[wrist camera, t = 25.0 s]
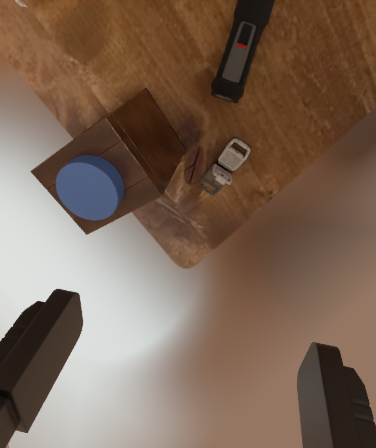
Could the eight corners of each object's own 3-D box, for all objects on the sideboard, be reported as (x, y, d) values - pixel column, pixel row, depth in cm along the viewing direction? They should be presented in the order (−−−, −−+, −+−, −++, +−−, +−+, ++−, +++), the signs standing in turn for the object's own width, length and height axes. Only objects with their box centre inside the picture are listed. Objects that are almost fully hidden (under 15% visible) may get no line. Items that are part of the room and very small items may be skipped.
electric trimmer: (298, -60, 31) (302, -66, 28) (238, 104, 40) (237, 110, 37) (260, -73, 31) (261, -81, 28) (209, 93, 40) (205, 99, 37)
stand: (186, 149, 44) (162, 195, 33) (124, 184, 49) (86, 235, 38) (146, 87, 41) (105, 117, 30) (84, 131, 45) (30, 171, 35)
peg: (156, 151, 40) (129, 189, 31) (130, 187, 43) (100, 231, 35) (110, 117, 38) (70, 148, 30) (88, 158, 42) (46, 196, 34)
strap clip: (233, 134, 42) (231, 146, 38) (253, 148, 42) (252, 161, 39) (197, 183, 47) (192, 197, 43) (215, 195, 47) (211, 210, 44)
